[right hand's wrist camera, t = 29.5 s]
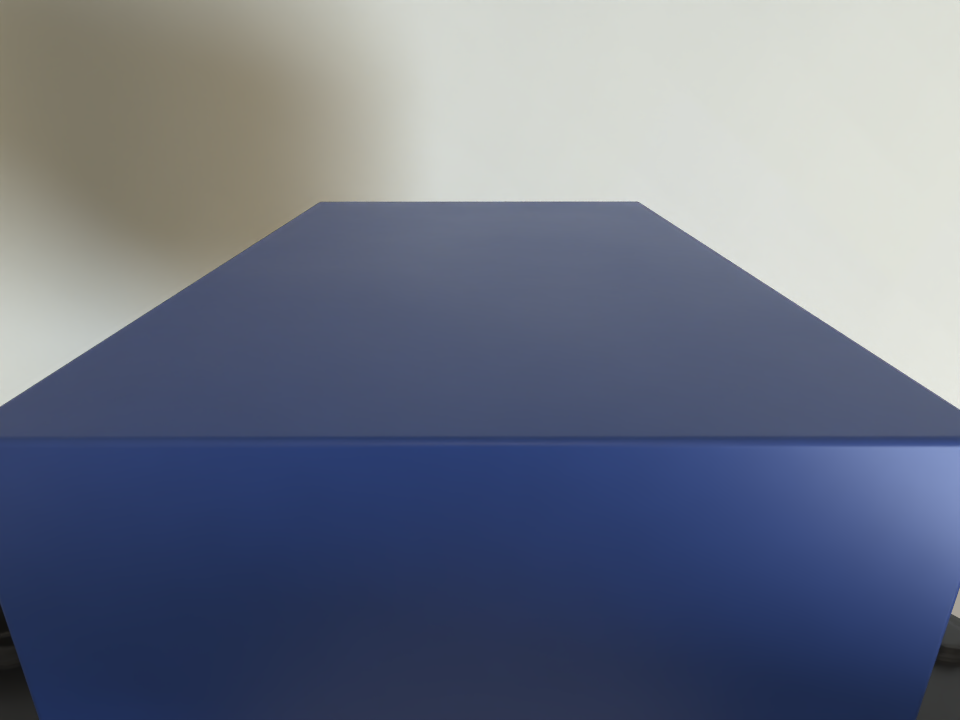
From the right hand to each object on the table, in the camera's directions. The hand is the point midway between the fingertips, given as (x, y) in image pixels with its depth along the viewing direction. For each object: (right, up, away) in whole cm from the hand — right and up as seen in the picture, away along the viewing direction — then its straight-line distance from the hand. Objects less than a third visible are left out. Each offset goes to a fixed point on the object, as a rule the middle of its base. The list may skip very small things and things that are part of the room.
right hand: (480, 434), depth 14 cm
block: (0, +1, +3) cm, 3 cm away
